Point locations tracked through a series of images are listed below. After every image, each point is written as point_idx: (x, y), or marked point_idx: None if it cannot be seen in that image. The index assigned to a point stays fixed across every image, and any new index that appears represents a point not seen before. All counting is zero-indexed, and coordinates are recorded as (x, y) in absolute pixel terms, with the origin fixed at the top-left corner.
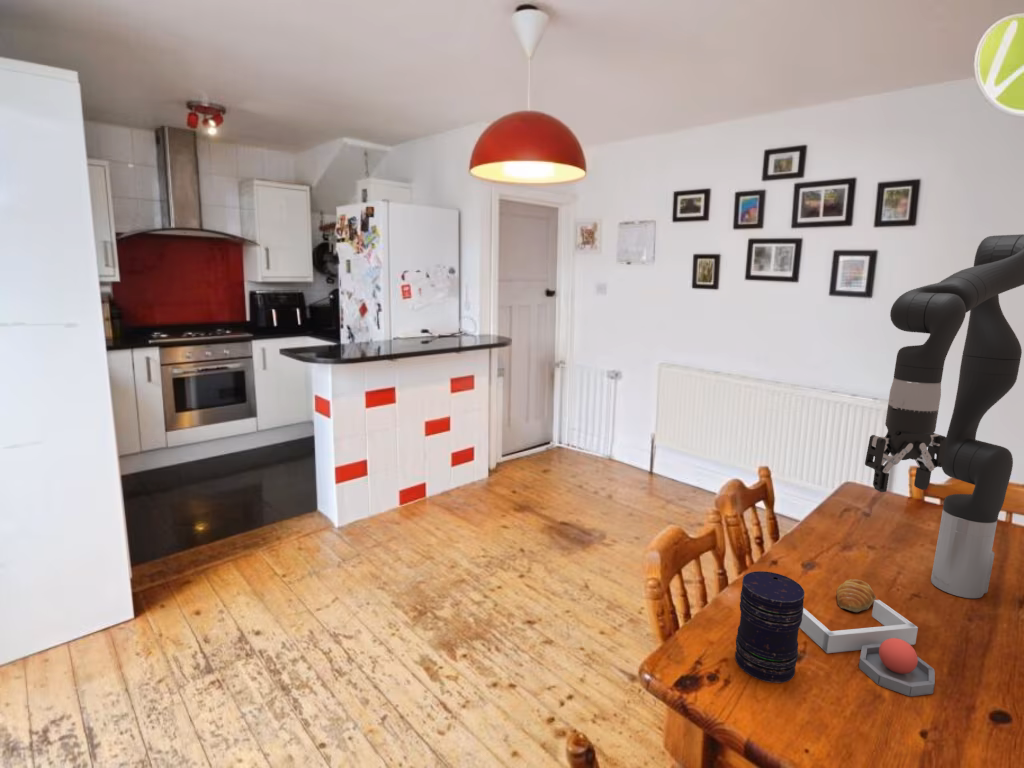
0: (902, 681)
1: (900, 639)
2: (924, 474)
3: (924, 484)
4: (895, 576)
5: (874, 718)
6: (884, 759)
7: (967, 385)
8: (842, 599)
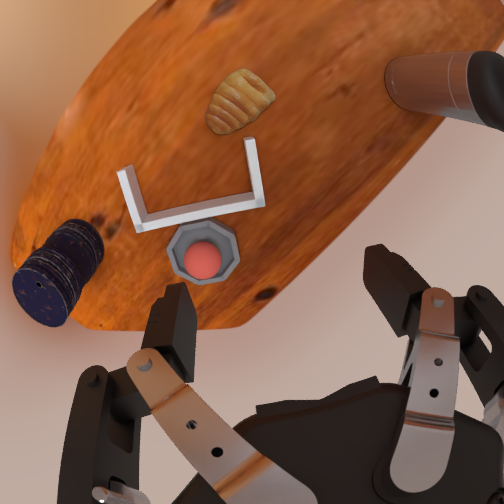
0: (193, 279)
1: (204, 265)
2: (392, 318)
3: (372, 297)
4: (349, 42)
5: None
6: None
7: None
8: (208, 119)
